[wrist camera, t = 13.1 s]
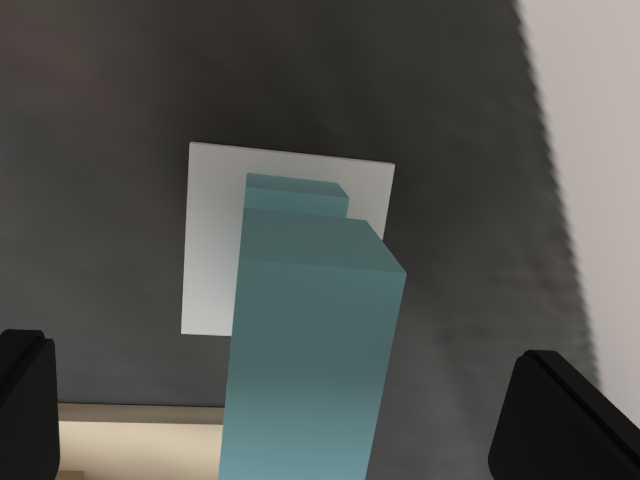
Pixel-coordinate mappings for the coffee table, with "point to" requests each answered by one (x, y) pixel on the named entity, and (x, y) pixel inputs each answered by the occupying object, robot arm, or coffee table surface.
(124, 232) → the coffee table surface
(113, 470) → the stand
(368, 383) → the c link
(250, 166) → the felt mat
